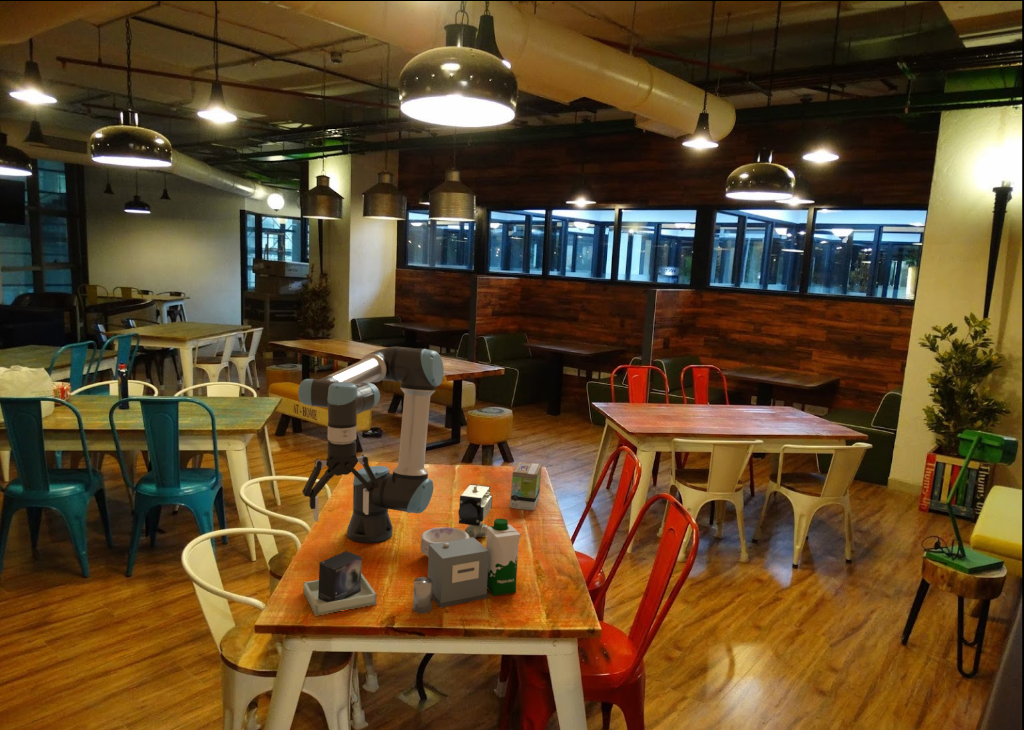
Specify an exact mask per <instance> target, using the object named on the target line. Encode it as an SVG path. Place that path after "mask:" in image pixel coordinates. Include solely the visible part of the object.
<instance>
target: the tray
mask: <svg viewBox="0 0 1024 730" xmlns="http://www.w3.org/2000/svg"><path fill="white" fill-rule="evenodd" d="M302 584H303V586H302V587H303V589H302V590H303V591H302V593H303V595H304V597H305V596H306V597H305V599H306V598H307V599H306V600H307V603H308V602H309V603H308V605H309V604H310V605H309V607H310V606H311V607H310V609H311V608H312V609H311V610H313V611H312V613H313V612H314V613H313V615H314V614H315V615H314V617H315V616H316V615H322V614H327V613H332V612H337V611H341V610H346V609H353V610H355V609H354V608H358V609H360V608H359V607H363V608H366V607H365V606H368V607H371V606H370V605H373V606H376V605H377V602H378V601H377V599H378V597H377V595H378V594H377V593H376V592H375V590H374V589H373V587H372V586H371V584H370V583H369V582H368V580H367V579H366V577H365V575H364V574H363V573H362V572H361V591H360V592H358V593H356V594H354V595H352V596H350V597H348V598H346V599H343V600H338V601H332V602H326V601H324V600H321V599H319V598H318V592H319V579H315V580H310V581H309V580H308V581H303V583H302ZM337 613H338V612H337ZM332 614H333V613H332ZM327 615H328V614H327ZM322 616H323V615H322Z"/></svg>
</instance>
